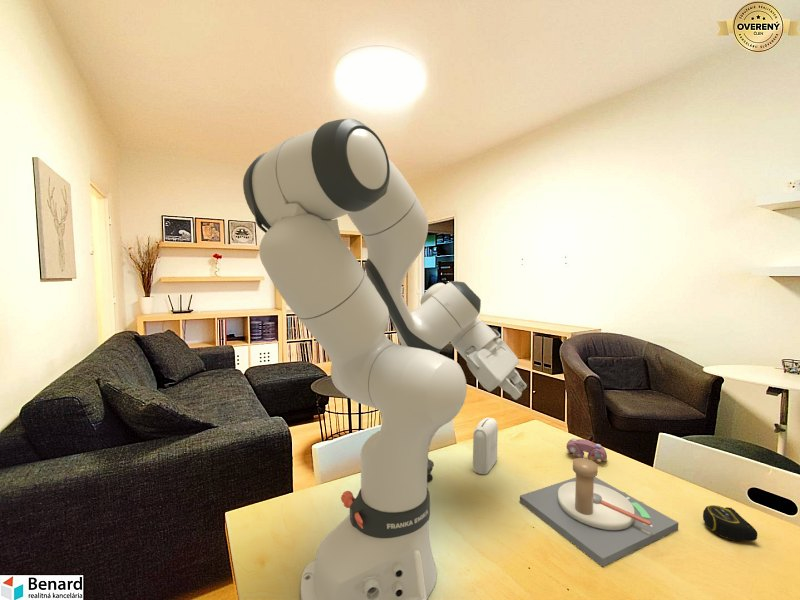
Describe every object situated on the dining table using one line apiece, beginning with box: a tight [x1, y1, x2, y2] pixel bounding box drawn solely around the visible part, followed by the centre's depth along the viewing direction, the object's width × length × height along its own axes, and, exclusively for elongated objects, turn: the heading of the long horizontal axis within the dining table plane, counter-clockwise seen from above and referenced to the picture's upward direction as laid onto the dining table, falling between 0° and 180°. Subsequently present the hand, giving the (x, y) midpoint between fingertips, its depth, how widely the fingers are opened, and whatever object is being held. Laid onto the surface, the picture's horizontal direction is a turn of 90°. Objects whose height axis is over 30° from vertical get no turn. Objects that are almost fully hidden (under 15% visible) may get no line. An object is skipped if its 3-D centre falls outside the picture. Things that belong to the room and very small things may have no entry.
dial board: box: [519, 476, 679, 568], centre depth 76 cm, size 22×20×2 cm
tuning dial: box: [558, 457, 651, 530], centre depth 74 cm, size 17×14×11 cm
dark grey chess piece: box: [427, 458, 435, 484], centre depth 90 cm, size 6×6×12 cm
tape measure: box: [702, 504, 758, 542], centre depth 71 cm, size 7×7×4 cm
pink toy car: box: [565, 437, 608, 463], centre depth 99 cm, size 10×5×7 cm, turn 55°
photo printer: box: [472, 417, 499, 475], centre depth 96 cm, size 10×4×12 cm, turn 148°
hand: (521, 392), depth 77 cm, fingers open, 4 cm apart
